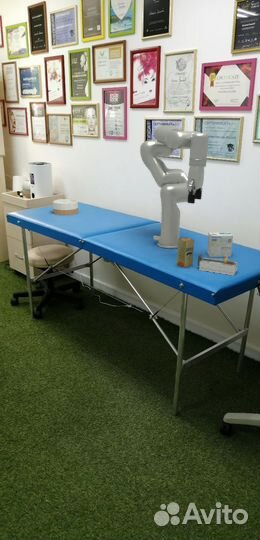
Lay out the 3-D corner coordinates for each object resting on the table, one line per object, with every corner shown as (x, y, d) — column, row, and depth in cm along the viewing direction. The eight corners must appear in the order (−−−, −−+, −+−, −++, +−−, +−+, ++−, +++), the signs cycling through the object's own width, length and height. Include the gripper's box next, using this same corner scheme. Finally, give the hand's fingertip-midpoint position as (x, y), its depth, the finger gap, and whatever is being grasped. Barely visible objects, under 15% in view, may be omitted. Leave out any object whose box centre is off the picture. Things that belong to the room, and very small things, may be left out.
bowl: (51, 215, 276) (50, 203, 273) (56, 210, 292) (55, 198, 289) (76, 215, 275) (75, 203, 272) (80, 210, 291) (79, 199, 288)
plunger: (197, 265, 177) (198, 254, 175) (199, 263, 179) (200, 252, 178) (225, 270, 172) (227, 258, 170) (227, 267, 175) (228, 256, 173)
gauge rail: (198, 270, 175) (199, 261, 174) (203, 265, 181) (203, 256, 180) (233, 275, 169) (234, 266, 168) (236, 270, 175) (237, 261, 174)
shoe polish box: (176, 265, 182) (178, 239, 177) (184, 262, 184) (185, 237, 180) (184, 268, 178) (186, 241, 174) (192, 265, 181) (194, 239, 177)
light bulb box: (227, 252, 199) (229, 231, 195) (231, 257, 193) (233, 235, 189) (206, 252, 199) (208, 231, 195) (209, 257, 192) (211, 235, 189)
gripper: (195, 159, 186) (192, 196, 192) (182, 164, 171) (180, 203, 178) (211, 161, 183) (207, 198, 189) (200, 165, 168) (196, 205, 175)
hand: (194, 201), depth 183 cm, fingers open, 9 cm apart
